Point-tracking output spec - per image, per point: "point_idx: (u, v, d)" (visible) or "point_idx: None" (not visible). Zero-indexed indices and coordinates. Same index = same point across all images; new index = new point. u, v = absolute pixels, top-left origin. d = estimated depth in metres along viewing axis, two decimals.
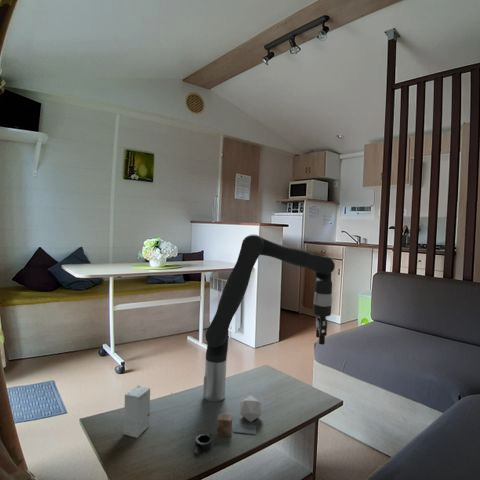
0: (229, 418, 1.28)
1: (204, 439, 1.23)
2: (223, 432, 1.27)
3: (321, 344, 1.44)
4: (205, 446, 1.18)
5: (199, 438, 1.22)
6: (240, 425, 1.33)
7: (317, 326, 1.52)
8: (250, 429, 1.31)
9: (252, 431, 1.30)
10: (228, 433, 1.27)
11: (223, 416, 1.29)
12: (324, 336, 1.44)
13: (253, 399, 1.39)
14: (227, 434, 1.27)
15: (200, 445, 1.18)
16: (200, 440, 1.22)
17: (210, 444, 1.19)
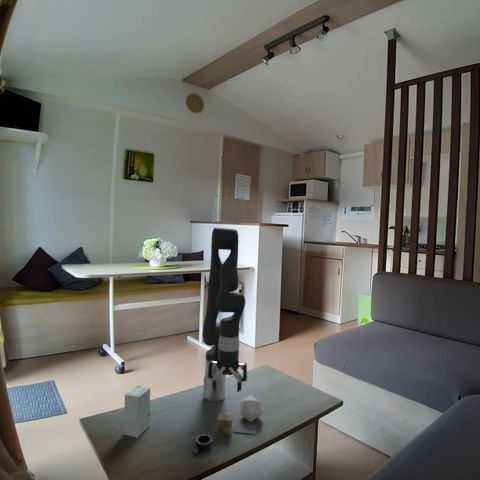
0: (229, 418, 1.28)
1: (205, 439, 1.23)
2: (223, 432, 1.27)
3: None
4: (204, 446, 1.18)
5: (200, 438, 1.22)
6: (240, 425, 1.33)
7: (217, 377, 1.27)
8: (250, 429, 1.31)
9: (252, 431, 1.30)
10: (228, 433, 1.27)
11: (223, 416, 1.29)
12: None
13: (253, 399, 1.39)
14: (227, 434, 1.27)
15: (199, 445, 1.18)
16: (201, 440, 1.22)
17: (210, 445, 1.19)
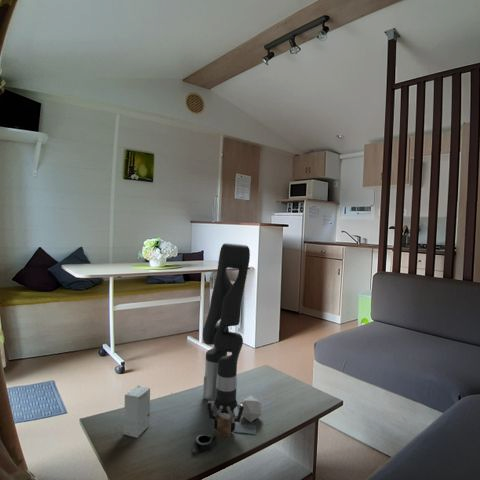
0: (229, 418, 1.28)
1: (206, 439, 1.23)
2: (223, 432, 1.27)
3: (232, 431, 1.29)
4: (203, 446, 1.18)
5: (200, 438, 1.22)
6: (240, 425, 1.33)
7: (218, 416, 1.28)
8: (250, 429, 1.31)
9: (252, 431, 1.30)
10: (228, 433, 1.27)
11: (223, 416, 1.29)
12: None
13: (253, 399, 1.39)
14: (227, 434, 1.27)
15: (199, 445, 1.18)
16: (202, 440, 1.22)
17: (209, 445, 1.19)
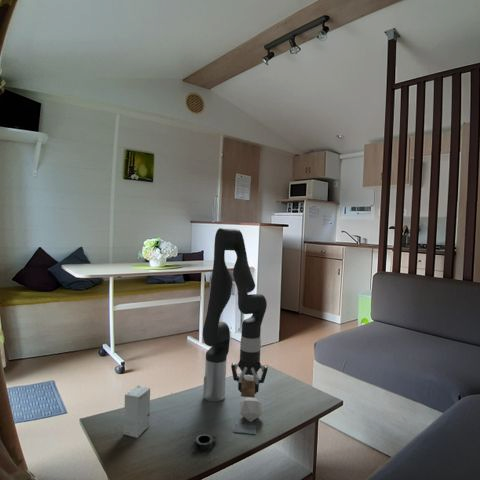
0: (253, 380, 1.29)
1: (206, 440, 1.22)
2: (247, 393, 1.29)
3: (256, 392, 1.30)
4: (202, 446, 1.18)
5: (201, 437, 1.22)
6: (240, 425, 1.33)
7: (242, 378, 1.30)
8: (250, 429, 1.31)
9: (252, 431, 1.30)
10: (252, 394, 1.28)
11: (247, 378, 1.30)
12: None
13: (253, 399, 1.39)
14: (251, 395, 1.28)
15: (198, 444, 1.18)
16: (202, 440, 1.23)
17: (208, 446, 1.18)
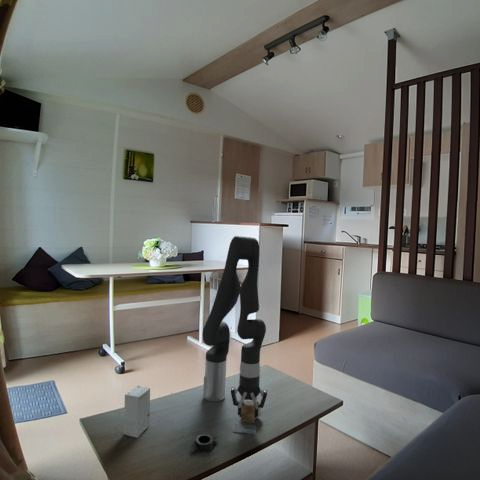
0: (252, 404, 1.30)
1: (207, 440, 1.22)
2: (247, 418, 1.29)
3: None
4: (202, 446, 1.18)
5: (202, 437, 1.22)
6: (240, 425, 1.33)
7: None
8: (250, 429, 1.31)
9: (252, 431, 1.30)
10: (252, 419, 1.29)
11: (247, 403, 1.31)
12: None
13: None
14: (251, 420, 1.29)
15: (197, 444, 1.18)
16: (203, 440, 1.23)
17: (208, 446, 1.18)
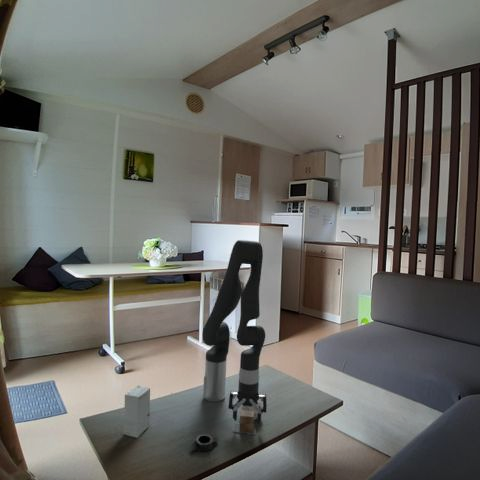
0: (251, 414, 1.30)
1: (207, 440, 1.22)
2: (246, 428, 1.29)
3: None
4: (201, 446, 1.18)
5: (202, 437, 1.22)
6: None
7: None
8: None
9: None
10: (250, 429, 1.29)
11: (246, 413, 1.31)
12: None
13: None
14: (250, 430, 1.29)
15: (197, 444, 1.19)
16: (203, 440, 1.23)
17: (207, 446, 1.18)
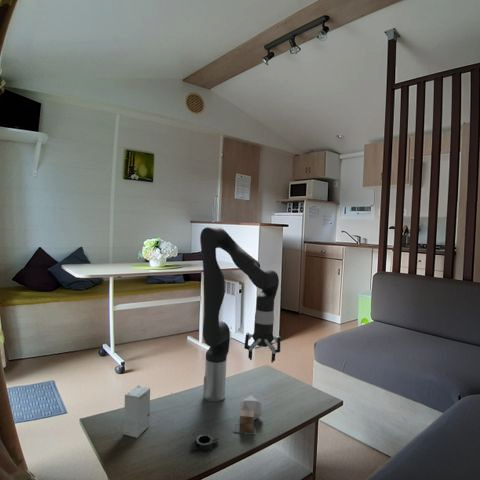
0: (251, 414, 1.30)
1: (208, 440, 1.22)
2: (246, 428, 1.29)
3: None
4: (200, 446, 1.18)
5: (203, 437, 1.22)
6: None
7: None
8: None
9: None
10: (250, 429, 1.29)
11: (246, 413, 1.31)
12: None
13: (253, 399, 1.39)
14: (250, 430, 1.29)
15: (197, 443, 1.19)
16: (204, 440, 1.22)
17: (206, 447, 1.18)
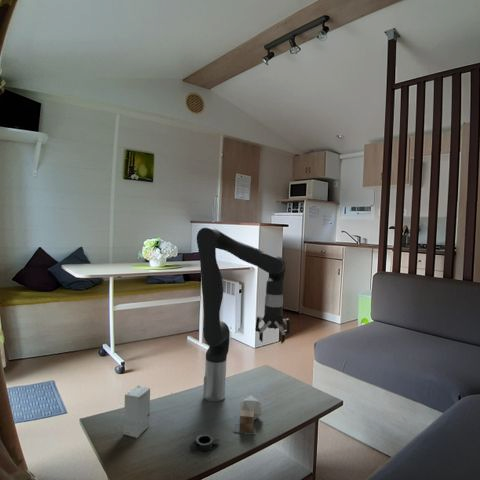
0: (251, 414, 1.30)
1: (208, 441, 1.22)
2: (246, 428, 1.29)
3: (282, 343, 1.46)
4: (199, 446, 1.18)
5: (203, 437, 1.22)
6: None
7: None
8: None
9: None
10: (250, 429, 1.29)
11: (246, 413, 1.31)
12: None
13: (253, 399, 1.39)
14: (250, 430, 1.29)
15: (196, 443, 1.19)
16: (205, 440, 1.22)
17: (206, 447, 1.18)
